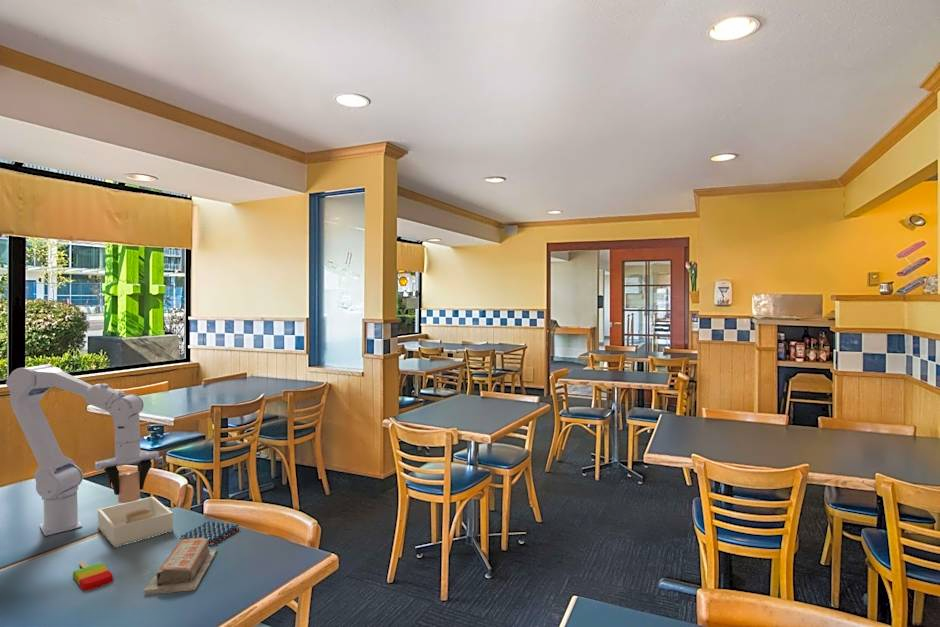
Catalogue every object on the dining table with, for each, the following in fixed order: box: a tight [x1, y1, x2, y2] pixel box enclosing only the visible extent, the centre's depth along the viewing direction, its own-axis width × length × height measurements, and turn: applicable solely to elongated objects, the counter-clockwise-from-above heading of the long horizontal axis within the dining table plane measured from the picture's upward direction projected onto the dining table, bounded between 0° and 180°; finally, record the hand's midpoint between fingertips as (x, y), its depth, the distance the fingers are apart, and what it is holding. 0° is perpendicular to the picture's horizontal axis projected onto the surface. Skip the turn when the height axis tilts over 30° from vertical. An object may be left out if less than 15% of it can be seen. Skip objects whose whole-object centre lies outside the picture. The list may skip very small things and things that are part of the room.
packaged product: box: [143, 537, 218, 596], centre depth 121 cm, size 18×5×10 cm
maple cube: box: [125, 508, 153, 524], centre depth 141 cm, size 5×5×5 cm
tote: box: [97, 496, 174, 548], centre depth 143 cm, size 17×13×5 cm
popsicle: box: [72, 561, 114, 592], centre depth 120 cm, size 6×15×2 cm, turn 48°
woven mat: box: [179, 521, 240, 546], centre depth 140 cm, size 10×11×2 cm
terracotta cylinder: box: [117, 470, 141, 504], centre depth 146 cm, size 5×5×7 cm
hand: (128, 491), depth 146 cm, fingers closed on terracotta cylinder, 5 cm apart
